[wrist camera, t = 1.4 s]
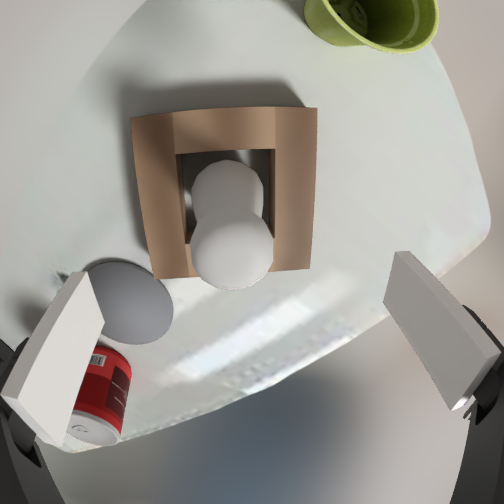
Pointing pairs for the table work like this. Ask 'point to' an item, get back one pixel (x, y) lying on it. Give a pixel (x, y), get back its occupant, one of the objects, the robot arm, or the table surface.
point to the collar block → (218, 139)
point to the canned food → (101, 399)
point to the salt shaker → (230, 226)
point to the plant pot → (374, 23)
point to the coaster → (131, 303)
